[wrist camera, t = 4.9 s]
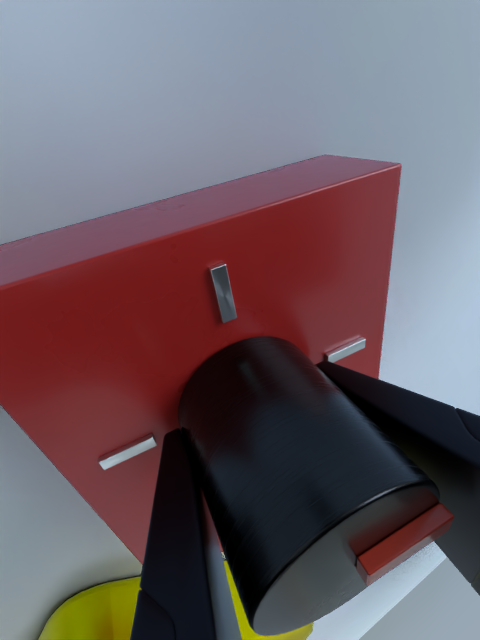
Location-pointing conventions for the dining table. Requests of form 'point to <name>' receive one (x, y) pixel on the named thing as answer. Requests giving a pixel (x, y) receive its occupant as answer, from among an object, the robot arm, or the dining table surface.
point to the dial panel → (185, 312)
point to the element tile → (128, 614)
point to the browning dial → (300, 484)
